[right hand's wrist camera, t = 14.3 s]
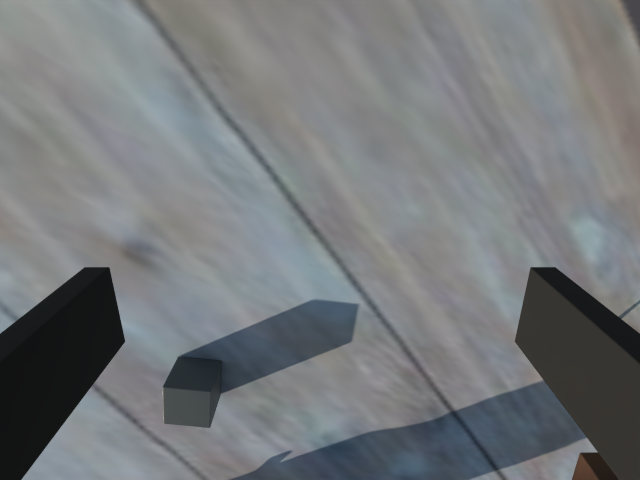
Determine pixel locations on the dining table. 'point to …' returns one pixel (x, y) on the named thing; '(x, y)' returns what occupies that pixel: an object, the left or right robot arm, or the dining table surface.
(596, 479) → the plank
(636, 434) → the right robot arm
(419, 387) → the dining table surface
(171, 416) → the slate block
